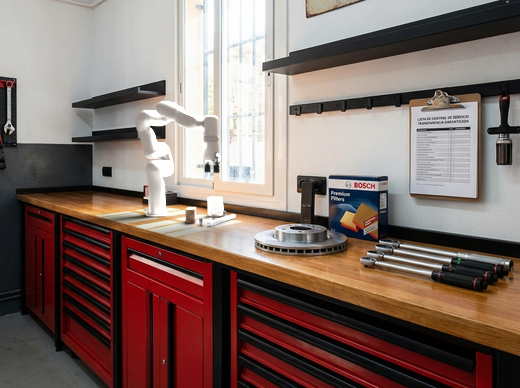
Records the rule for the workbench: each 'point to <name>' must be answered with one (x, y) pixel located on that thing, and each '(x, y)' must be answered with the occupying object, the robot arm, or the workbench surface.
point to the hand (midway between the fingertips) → (211, 172)
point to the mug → (215, 206)
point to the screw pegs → (212, 218)
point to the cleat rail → (221, 220)
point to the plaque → (191, 215)
